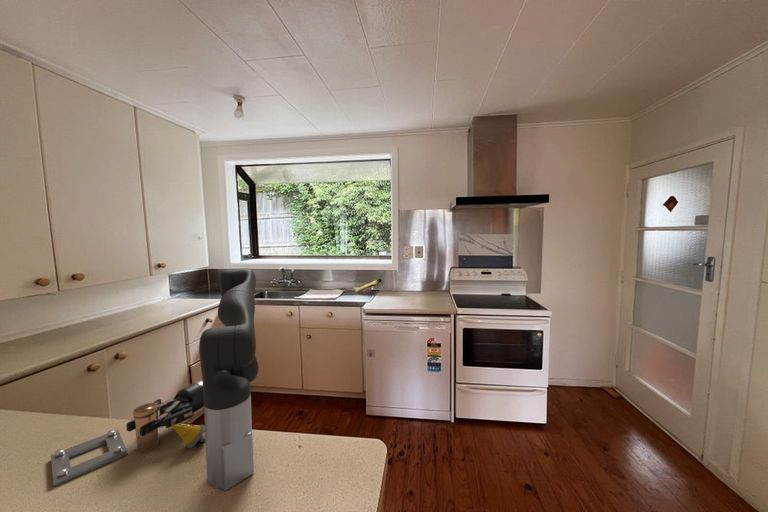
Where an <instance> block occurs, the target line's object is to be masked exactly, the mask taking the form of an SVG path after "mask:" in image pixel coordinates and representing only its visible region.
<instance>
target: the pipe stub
mask: <svg viewBox="0 0 768 512" xmlns="http://www.w3.org/2000/svg"><path fill="white" fill-rule="evenodd" d="M157 411H158V403H153V402H148V403H147V402H146V403H144V404H141V405H139V406H137V407H135V408H134V409H133V410H132V418H133V419H135V429H134V430H135V432H134V433H135V445H136V452H137V453H145V452H148V451H151V450H153V449H154V448H156V447H157V446H158V445H159V439H160V438H159V428H157V429H155V430H153V431H152V432H150V433H148V434H146V435H145V436H141V435H140V427H142V426H143V425H145V424H147V423H149V422H151V421H153V420H154V419H157ZM158 412H159V411H158Z"/></svg>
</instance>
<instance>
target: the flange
mask: <svg viewBox="0 0 768 512" xmlns="http://www.w3.org/2000/svg"><path fill="white" fill-rule="evenodd" d="M104 445H105V446H106V448H107V449H106V450H107V452H104V453H102V454H100V455H97V456H95V457H93V458H90V459H88V460H86V461H82V462H80V463H77V464H75V465H73V466H71V460H70V459H71V458H75V457H77V456H78V455H81V454H84V453H87V452H90V451H92V450H95V449H96V448H100V447H102V446H104ZM125 456H128V449H127V447H126V445H125V442H124V440H123V438H122V436H121V433H120V431H119V430H118V429H111V430H109V431H107V433H105V434H102V435H99V436H97V437H94V438H92V439H89V440H87V441H84V442H82V443H79V444H76V445H73V446H71V447H68V448H66V449H65V448H61V449H57V450H56V451H55V452H54V453H53V454H50V461H51V462H50V463H51V474H52V487H53V488H54V487H57V486H59V485H62V484H63V483H66V482H68V481H70V480H73V479H75V478H77V477H80V476H82V475H84V474H87V473H88V472H91V471H93V470H96V469H99V468H100V467H102V466H105V465H108V464H109V463H112V462H114V461H117V460H119V459H120V458H123V457H125Z"/></svg>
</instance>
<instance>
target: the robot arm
mask: <svg viewBox="0 0 768 512" xmlns="http://www.w3.org/2000/svg"><path fill="white" fill-rule="evenodd" d="M256 285H257V277H256V274H255V272H254V270H252V269H251V268H246V267H245V268H229V269H223V270H222V271H221V272H220V276H219V287H220V288H219V289H220V295H221V296H220V297H221V298H220V300H219V303H218V308H217V316H218V320H219V321H220V322H221V323H222V325H224V326H221V327H220V326H219V327H212V328H207V329H204V331H203V332H202V333H201V334H200V338H199V346H198V352H199V363H200V370H201V379H200V380H198V381H195V382H193V383H191V384H190V385H187V386H185V387H184V388H181V389H179V390H178V392H176V395H175V396H174V397H173V398H171V399H167V400H166V401H162V399H161V398H159V399H156V400H154V401H153V402H152V403H158V411H157V419H154V420H153V421H151V422H149V423H147V424H145V425H143V426H142V427H140V435H141V436H145V435H146V434H148V433H150V432H152V431H153V430H155V429H157V428H158V429H162V428H163V427H165V428H166V429H169V428H173V427H172V425H179V424H180V423H182V422H185V421H187V420H190V419H192V418H193V414H194V413H196V412H198V411H199V410H200V409H202V408H203V412H204V413H203V414H204V415H203V416H204V426H205V430H204V438H205V442H204V443H205V462H206V463H205V464H206V478H207V479H206V480H207V484H208V485H209V486H210V487H212V488H214V489H222V490H223V491H228V490H229V489H231V488H233V487H234V486H236V485H237V484H239V483H241V482H242V481H243V480H245V479H247V478H249V477H250V476H252V475H253V474H254V472H255V471H254V466H255V465H254V445H253V444H254V443H253V427H252V425H253V424H252V422H253V421H252V393H251V392H252V391H251V390H252V389H251V384H250V383H251V382H253V381H254V380H256V378H257V376H258V374H259V363H258V359H257V357H256V351H257V339H256V331H255V322H254V320H255V311H256V306H255V305H256V303H255V302H256V300H255V291H256V287H257V286H256ZM125 426H126V431H127V432H129V433H130V432H132V431H134V430H135V418H133V419H132V420H130V421H127V423H126V425H125Z"/></svg>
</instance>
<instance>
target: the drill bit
mask: <svg viewBox="0 0 768 512" xmlns="http://www.w3.org/2000/svg"><path fill="white" fill-rule="evenodd" d="M171 428H172V429H174V431H175V432H176V433H177V435H178V436H179V437H180V438H181V439H182V441H183V442H184V444H185V448H187V449H190V450H191V449H192V448H193V447H195V446H196V444H197V443H198V442H202V443H206V442H205V435H203V434H204V433H205V424H199V425H195V424H194V425H192V424H191V425H190V424H189V426H188V424H184V425H183V424H176V425H172V427H171Z"/></svg>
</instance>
